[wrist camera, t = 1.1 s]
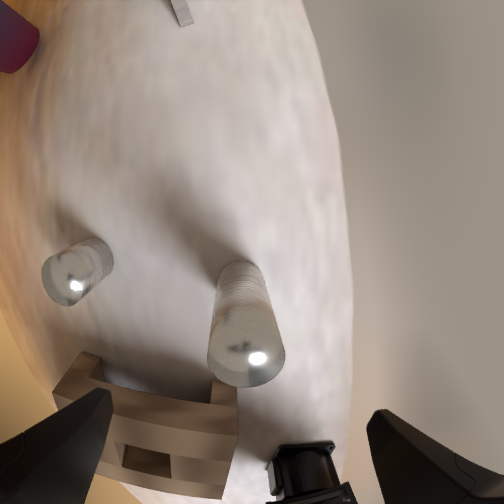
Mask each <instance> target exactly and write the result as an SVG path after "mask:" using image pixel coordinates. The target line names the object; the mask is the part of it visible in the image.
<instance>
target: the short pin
mask: <svg viewBox="0 0 504 504" xmlns="http://www.w3.org/2000/svg"><path fill="white" fill-rule="evenodd" d="M113 264H114V259H113V254H112V252H111V250H110V248H109V246H108V245H107V244H106V243H105V242H104V241H102V240H101V239H98V238H89V239H86V240H84V241H82V242H80V243H78V244H76V245H74V246H71V247H69V248H67V249H65V250H63V251H61V252H59V253H57V254H55V255H53V256H51V257H49V258H48V259H47V260H46V261H45V263H44V265H43V267H42V281H43V285H44V288H45V290H46V292H47V293H48V295H49V296H50V297H51V298H52V299H53V300H54V301H55V302H56V303H58V304H60V305H62V306H72V305H74V304H76V303H77V302H78V301H79V300H80V299H81V298H83V297H84V296H85V295H86V294H87V293H88V292H89V291H91V290H92V289H93V288H94V287H95V286H96V285H98V284H99V283H100V282H101V281H102V280H104V279H105V278H106V277H107V276H108V275H109V274H110V273H111V271H112V269H113Z"/></svg>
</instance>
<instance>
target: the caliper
mask: <svg viewBox="0 0 504 504" xmlns="http://www.w3.org/2000/svg"><path fill="white" fill-rule="evenodd" d="M171 3H172V5H173V8H174V11H175V13H176V16H177V18H178V21H179V23H180V26H181V27H183V26H186V25H189V24H192V23H194V21H193V19H192V16H191V14H190V11H189V9H188V5H187V2H186V0H171Z"/></svg>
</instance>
